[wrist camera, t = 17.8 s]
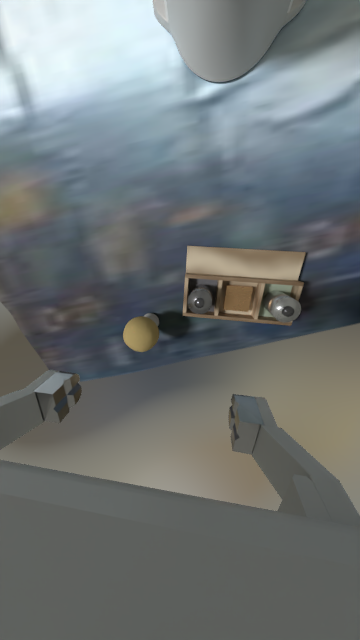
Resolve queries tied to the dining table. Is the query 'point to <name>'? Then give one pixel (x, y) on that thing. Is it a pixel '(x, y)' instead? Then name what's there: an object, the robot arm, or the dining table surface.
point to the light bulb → (142, 332)
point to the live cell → (281, 306)
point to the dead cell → (200, 299)
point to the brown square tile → (237, 298)
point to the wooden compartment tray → (242, 279)
